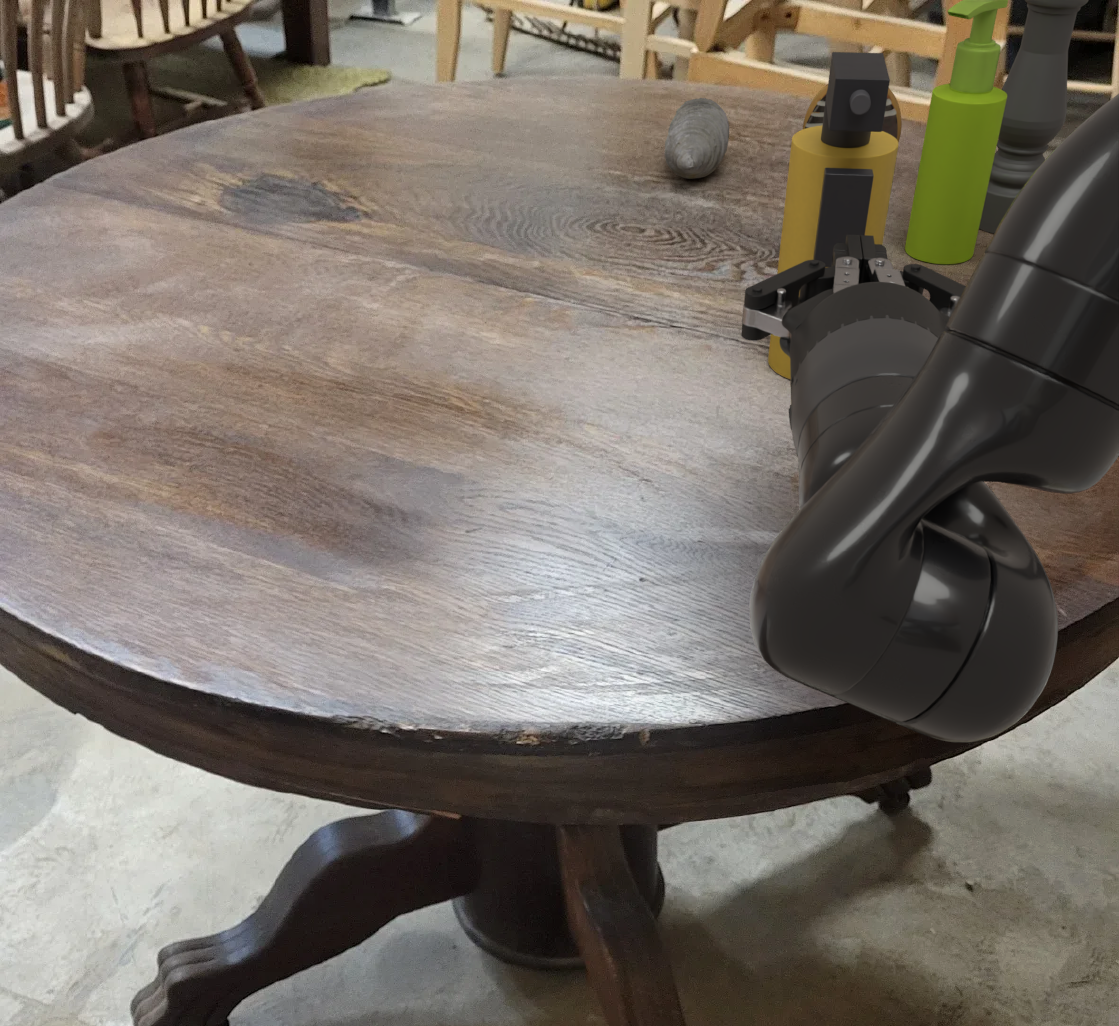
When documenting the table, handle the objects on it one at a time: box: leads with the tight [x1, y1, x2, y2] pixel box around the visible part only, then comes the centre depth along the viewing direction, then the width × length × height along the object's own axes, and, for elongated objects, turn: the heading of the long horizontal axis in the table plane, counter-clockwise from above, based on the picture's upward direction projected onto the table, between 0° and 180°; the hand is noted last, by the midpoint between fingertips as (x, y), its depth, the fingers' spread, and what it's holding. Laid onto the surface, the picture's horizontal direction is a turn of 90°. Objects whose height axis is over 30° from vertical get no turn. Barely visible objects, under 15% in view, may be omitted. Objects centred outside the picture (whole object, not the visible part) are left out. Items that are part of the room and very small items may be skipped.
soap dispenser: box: [904, 0, 1009, 265], centre depth 101 cm, size 6×7×20 cm
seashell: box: [664, 97, 730, 180], centre depth 122 cm, size 6×14×8 cm, turn 172°
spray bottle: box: [767, 51, 899, 381], centre depth 83 cm, size 7×11×22 cm, turn 172°
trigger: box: [813, 168, 874, 267], centre depth 79 cm, size 3×1×6 cm, turn 82°
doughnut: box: [802, 83, 903, 143], centre depth 119 cm, size 9×4×10 cm, turn 77°
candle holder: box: [979, 0, 1089, 234], centre depth 105 cm, size 6×6×25 cm
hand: (856, 252), depth 69 cm, fingers closed
